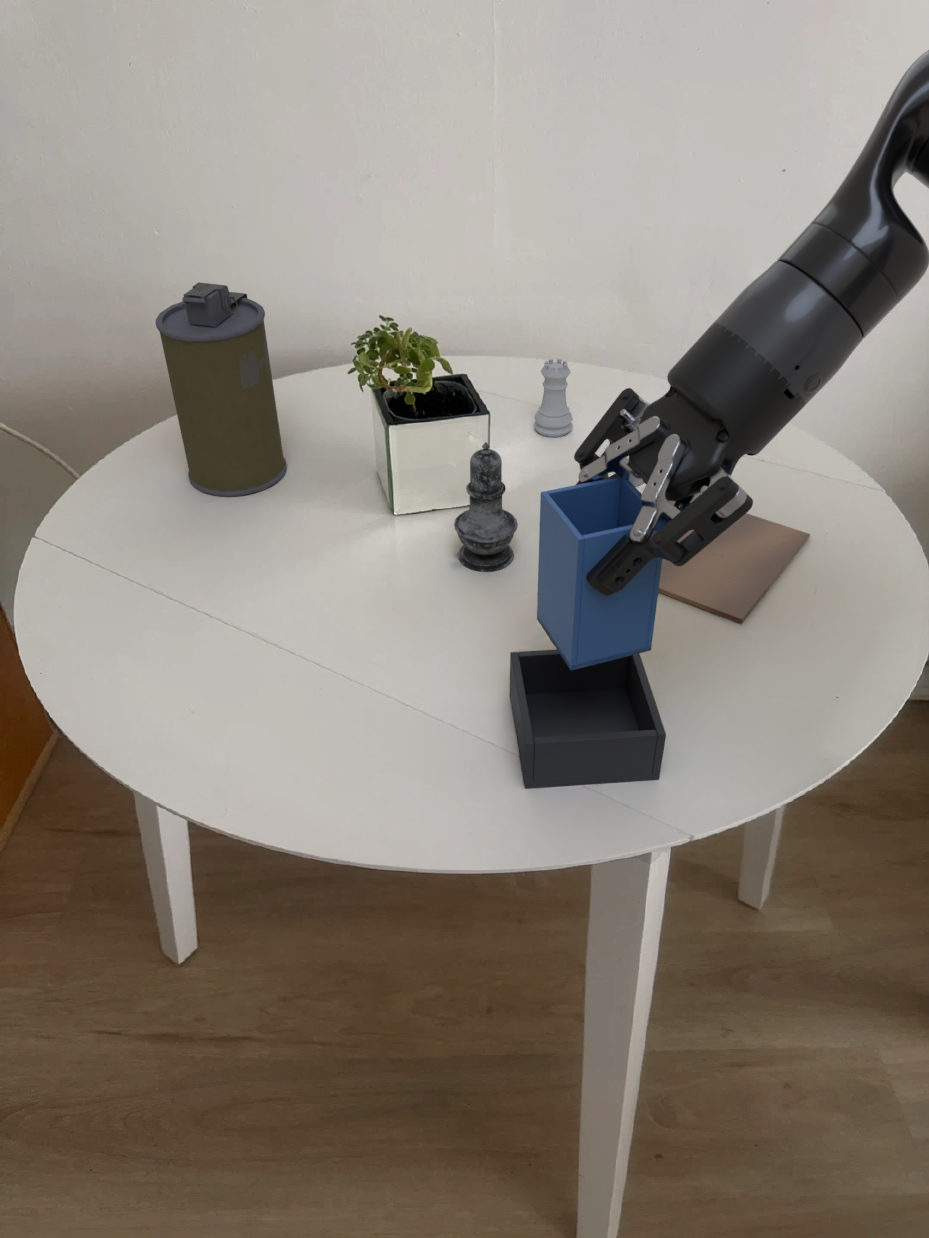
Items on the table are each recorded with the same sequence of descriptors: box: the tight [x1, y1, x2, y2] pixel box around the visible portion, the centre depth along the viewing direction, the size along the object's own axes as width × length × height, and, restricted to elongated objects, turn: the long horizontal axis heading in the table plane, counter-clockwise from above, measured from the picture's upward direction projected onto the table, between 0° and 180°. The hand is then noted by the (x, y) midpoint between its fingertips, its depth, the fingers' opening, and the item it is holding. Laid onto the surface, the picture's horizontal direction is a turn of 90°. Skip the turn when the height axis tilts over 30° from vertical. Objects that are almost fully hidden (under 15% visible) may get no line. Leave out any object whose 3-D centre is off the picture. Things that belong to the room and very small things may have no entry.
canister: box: [155, 282, 288, 497], centre depth 101 cm, size 11×10×20 cm
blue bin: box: [536, 476, 666, 670], centre depth 66 cm, size 6×6×10 cm
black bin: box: [509, 648, 667, 789], centre depth 74 cm, size 10×10×5 cm
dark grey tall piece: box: [453, 441, 519, 573], centre depth 91 cm, size 6×6×12 cm
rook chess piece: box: [533, 358, 574, 438], centre depth 111 cm, size 4×4×8 cm
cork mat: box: [658, 501, 811, 625], centre depth 94 cm, size 16×16×1 cm
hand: (575, 559), depth 65 cm, fingers closed on blue bin, 6 cm apart
